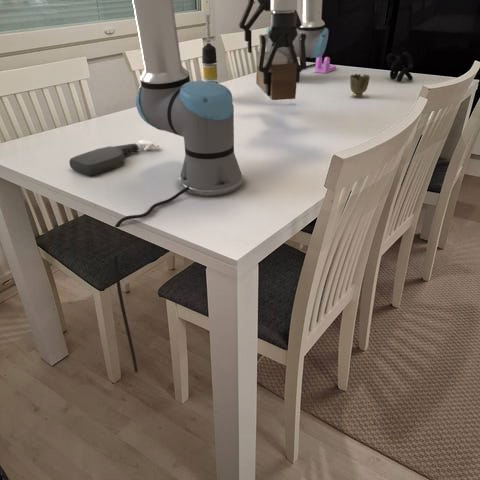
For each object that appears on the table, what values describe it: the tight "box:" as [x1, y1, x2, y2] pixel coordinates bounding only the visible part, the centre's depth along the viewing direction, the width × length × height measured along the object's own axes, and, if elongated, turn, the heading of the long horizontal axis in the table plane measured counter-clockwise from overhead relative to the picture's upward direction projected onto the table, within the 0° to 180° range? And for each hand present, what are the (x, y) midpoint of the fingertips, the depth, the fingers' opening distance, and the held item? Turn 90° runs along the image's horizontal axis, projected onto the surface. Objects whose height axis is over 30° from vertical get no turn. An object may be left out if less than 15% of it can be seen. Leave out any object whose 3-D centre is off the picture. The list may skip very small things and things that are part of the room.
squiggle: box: [385, 51, 414, 83], centre depth 198 cm, size 11×10×15 cm
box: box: [255, 51, 297, 101], centre depth 143 cm, size 23×7×10 cm, turn 10°
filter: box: [201, 14, 219, 84], centre depth 171 cm, size 6×6×30 cm
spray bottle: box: [68, 139, 160, 177], centre depth 124 cm, size 3×11×24 cm
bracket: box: [314, 56, 337, 74], centre depth 219 cm, size 13×6×7 cm, turn 143°
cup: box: [349, 73, 371, 98], centre depth 175 cm, size 8×7×8 cm
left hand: (280, 93), depth 138 cm, fingers closed on box, 7 cm apart
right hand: (269, 51), depth 147 cm, fingers open, 13 cm apart
